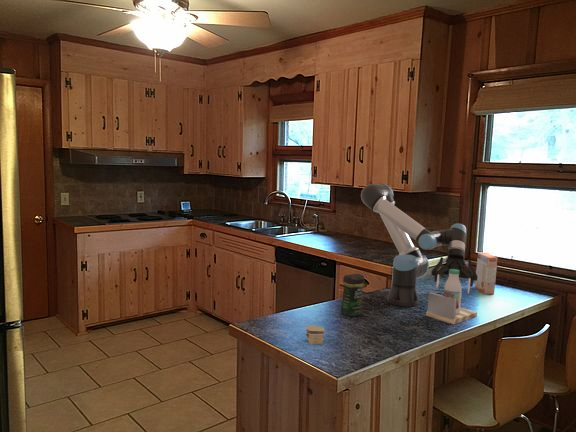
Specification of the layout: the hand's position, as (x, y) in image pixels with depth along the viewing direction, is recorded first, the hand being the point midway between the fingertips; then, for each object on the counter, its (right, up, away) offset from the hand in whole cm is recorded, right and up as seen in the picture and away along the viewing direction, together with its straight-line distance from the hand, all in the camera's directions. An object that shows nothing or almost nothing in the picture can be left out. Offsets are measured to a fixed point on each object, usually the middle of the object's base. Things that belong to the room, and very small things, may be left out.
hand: (452, 289), depth 213 cm
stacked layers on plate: (-65, -15, -34) cm, 75 cm away
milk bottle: (0, -11, +4) cm, 12 cm away
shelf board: (+1, -13, +4) cm, 14 cm away
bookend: (-6, -11, -2) cm, 13 cm away
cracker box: (+36, -9, +52) cm, 64 cm away
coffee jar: (-46, -11, +1) cm, 47 cm away
